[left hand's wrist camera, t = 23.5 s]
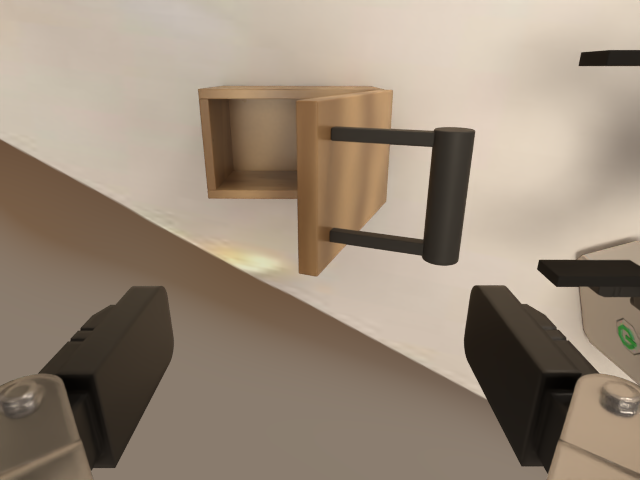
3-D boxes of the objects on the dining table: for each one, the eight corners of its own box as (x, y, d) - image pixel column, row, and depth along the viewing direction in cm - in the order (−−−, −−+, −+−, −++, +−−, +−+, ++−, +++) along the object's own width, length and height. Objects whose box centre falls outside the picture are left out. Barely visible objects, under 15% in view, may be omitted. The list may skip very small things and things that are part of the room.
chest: (228, 176, 47) (208, 198, 39) (221, 85, 44) (197, 88, 35) (368, 176, 47) (379, 199, 39) (372, 86, 44) (385, 89, 35)
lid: (298, 273, 24) (451, 301, 21) (295, 100, 21) (476, 104, 18) (373, 200, 38) (471, 211, 35) (379, 89, 35) (488, 91, 32)
